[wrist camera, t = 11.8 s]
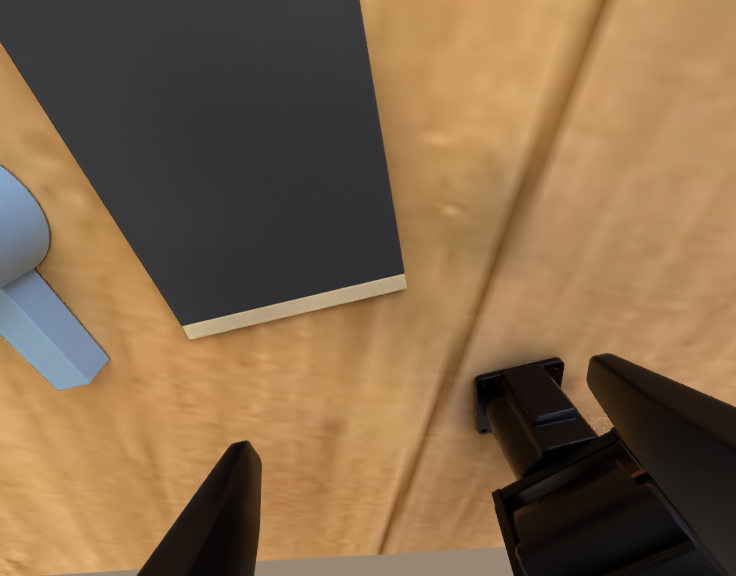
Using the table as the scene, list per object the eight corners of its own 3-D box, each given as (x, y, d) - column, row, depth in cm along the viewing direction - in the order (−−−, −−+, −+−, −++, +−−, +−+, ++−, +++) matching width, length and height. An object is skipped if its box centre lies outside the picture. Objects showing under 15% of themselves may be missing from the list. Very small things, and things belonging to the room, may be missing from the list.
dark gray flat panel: (405, 285, 19) (407, 288, 19) (191, 336, 19) (189, 340, 19) (324, -208, 10) (323, -218, 10) (-89, -109, 10) (-101, -114, 10)
